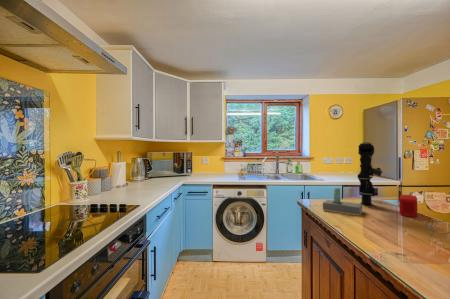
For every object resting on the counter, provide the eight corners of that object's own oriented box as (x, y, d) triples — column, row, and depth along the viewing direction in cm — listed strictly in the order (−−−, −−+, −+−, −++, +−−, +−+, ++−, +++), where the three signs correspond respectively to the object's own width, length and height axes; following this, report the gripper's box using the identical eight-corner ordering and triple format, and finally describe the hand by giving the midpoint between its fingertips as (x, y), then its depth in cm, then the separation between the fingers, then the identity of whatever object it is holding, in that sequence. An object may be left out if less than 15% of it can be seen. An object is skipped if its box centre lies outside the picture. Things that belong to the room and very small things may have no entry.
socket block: (327, 206, 154) (327, 199, 154) (362, 211, 141) (362, 204, 141) (322, 209, 146) (322, 202, 146) (359, 215, 134) (359, 207, 133)
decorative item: (398, 210, 145) (398, 193, 145) (417, 212, 139) (417, 195, 139) (397, 215, 133) (397, 197, 133) (417, 218, 128) (417, 199, 128)
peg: (338, 208, 148) (337, 187, 148) (341, 209, 144) (341, 188, 144) (332, 208, 147) (332, 187, 147) (336, 209, 144) (335, 188, 144)
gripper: (379, 164, 133) (379, 192, 133) (383, 163, 148) (383, 187, 148) (357, 164, 140) (357, 190, 140) (362, 162, 155) (362, 186, 155)
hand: (366, 188), depth 146 cm, fingers open, 9 cm apart
